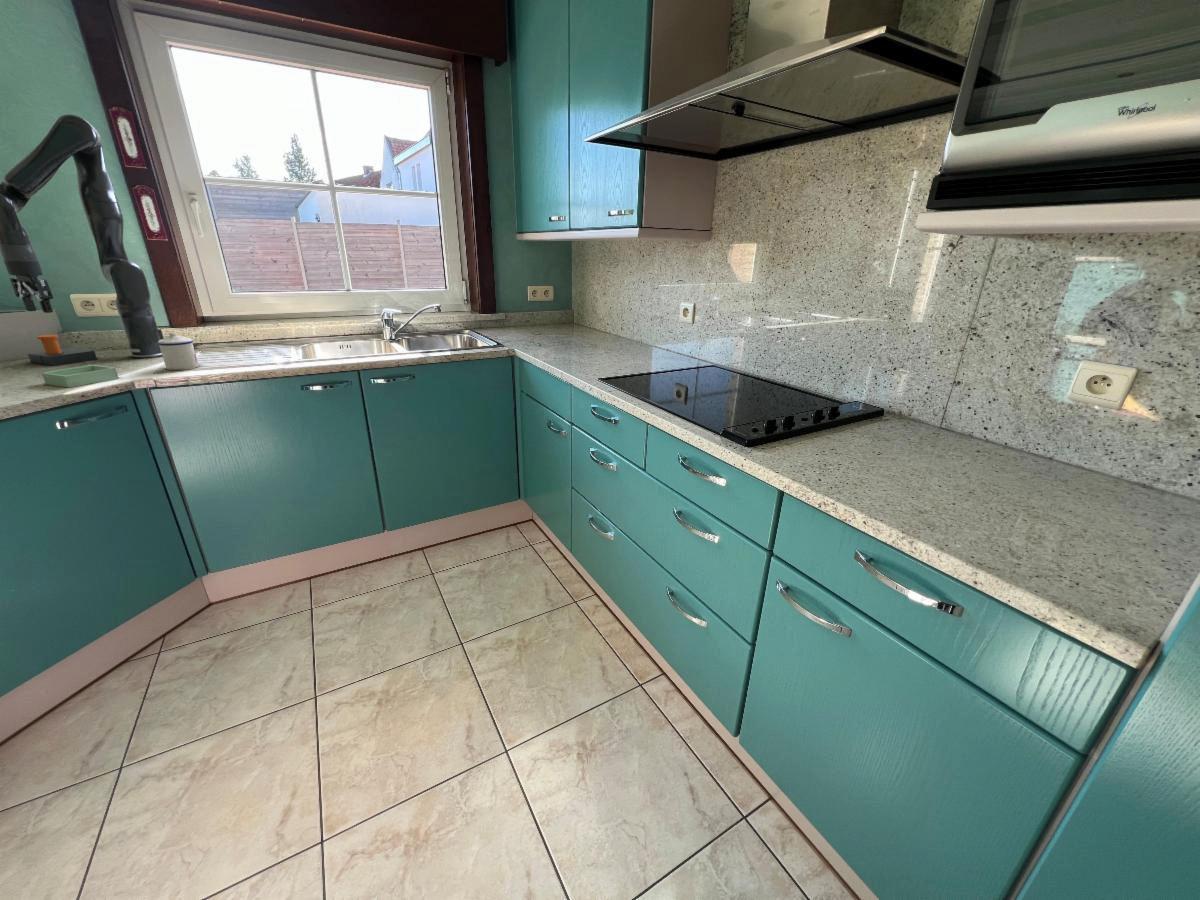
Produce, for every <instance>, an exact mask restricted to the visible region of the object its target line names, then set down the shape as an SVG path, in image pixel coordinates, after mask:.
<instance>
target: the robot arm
mask: <svg viewBox="0 0 1200 900" xmlns="http://www.w3.org/2000/svg"><path fill="white" fill-rule="evenodd" d="M34 147H35V148H33V149H32V150H31V151H30V152H29V153H28V154H26V155H25V156H24V157H23V158H21V159H20V160H19V161H18V162H17V163H15V165H14V166H12V167H11V168H10V169H9V170H8V171H7V172H6V173H5V174H4V175H3V177H2V178H3V180H2V181H1V182H0V255H1V258H2V261H3V263H4V266H5V269H6V271H7V274H8V275H9V276H15V277H10V278H9V281H10V284H11V287H12V290H13V292H14V295H15V297H16V298H19V299H20V300H22V302H23V306H24V308H25V310H26V311H27V312H36V311H37V307H36V305H35V302H34V300H33V296H35V297H36V299H37V300H38V302H39V305H40V307H41V310H42V312H43V313H45V314H50V313H51V314H52V313H53V312H54V310H53V307H52V304H51V300H52V299H54V296H53V293H52V291H51V288H50V285H49V282H48V280H47V279H40V278H39V276H43V274H44V272H43V269H42V267H41V263H40V262H39V258H38V256H37V253H36V251H35V249H34V247H33V245H32V241H31V239H30V237H29V233H28V232H27V230H26V228H25V227H24V226H23V225H22V224H21V222H20V219H19V217H18V215H17V214H18V213H19V212H21V211H22V209H24V208H25V207H26V205H27V204H28V203H29V202H30V200H31V199H32V197H33V196H34V195H36V194H37V193H38V192H39V191H41V190H42V188H44V187H45V186H46V185H48V183H49V182H51V180H52V179H53V178H54V177H55V175H57V172H58V171H59V169H60V168H61V167H62V166H63V165H64V163H65V162H66V161H68V160H69V159H70V158H71V157H72V159H73V162H74V165H75V168H76V169H75V170H76V180H77V190H78V196H79V200H80V203H81V206H82V209H83V212H84V215H85V218H86V220H87V223H88V227H89V229H90V232H91V236H92V237H93V240H94V243H95V245H96V246H95V247H96V250H97V256H98V262H99V268H100V272H101V275H102V276H103V278H104V279H105V280H106V282H108V283H109V284H110V285H112V286H113V288H114V290H115V295H116V297H115V300H114V304H115V307H116V310H117V313H118V316H119V319H120V322H121V325H122V328H123V332H124V334H125V338H126V340H127V343H128V346H129V350H130V353H131V357H132V358H136V359H144V358H146V359H147V358H157V357H163V356H162V353H161V349H160V346H159V344H158V341H159V340H162V339H164V338H165V337H164V334H163V332H162V328H160V327H158V325H157V324H158V323H157V321H156V317H155V315H154V311H153V308H152V305H151V293H150V288H149V285H148V281H147V277H146V275H145V273H144V271H143V269H142V268H141V266H139V265H138V264H137V263H135V262H133V261H131V260H129V258H128V255H127V252H126V249H125V245H124V231H125V229H124V228H125V226H124V215H123V212H122V207H121V205H120V202H119V200H118V199H119V198H118V196H117V193H116V190H115V188H114V185H113V182H112V181H111V178H110V176H109V173H108V170H107V166H106V161H105V155H104V152H103V143H102V137H101V134H100V133H99V131H98V130H97V129H96V128H95V126H93V125H92V124H91V123H90V122H89V121H88V120H86V119H84V118H83V117H81V116H79V115H76V114H70V113H68V114H62V115H60V116H58V118H57V119H56V120H55V122H54V123H53V124H52V126H51V127H50V129H49V130H48V132H47V134H46V135H45V136H44V138H42V140H41V141H40V142H39V143H38V144H37V145H36V146H34ZM195 343H196V344H194V343H193V344H194V345H193V346H194V347H197V346H198V345H199V342H195Z"/></svg>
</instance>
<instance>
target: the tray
mask: <svg viewBox="0 0 1200 900" xmlns="http://www.w3.org/2000/svg"><path fill="white" fill-rule="evenodd" d="M41 374H42V378H43V380H44V383H45V385H49V386H50V385H51V386H57V387H62V388H74V387H79V386H84V385H91V384H95V383H102V382H107V381H113V380H118V379H119V375H118V372H117V370H116V368H115V367H111V366H106V365H97V364H90V365H83V366H77V367H69V368H63V369H58V370H52V371H51V370H50V371H45V372H41Z"/></svg>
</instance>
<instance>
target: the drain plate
mask: <svg viewBox="0 0 1200 900" xmlns="http://www.w3.org/2000/svg"><path fill="white" fill-rule="evenodd" d="M60 350H61V352H62V353H59V354H46V351H45V350H44V351H35V352H30V353H27V356H28V358H29V361H30V363H33V364H39V365H47V366H60V365H67V364H73V363H74V364H75V363H80V362H88V361H93V360H98V357H97V355H96V351H95V350H91V349H83V348H75V347H68V348H60Z"/></svg>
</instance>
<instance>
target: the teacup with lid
mask: <svg viewBox="0 0 1200 900" xmlns="http://www.w3.org/2000/svg"><path fill="white" fill-rule="evenodd" d="M168 334H169V335H166V337H164V339H162V340H159V341H158V344H159V346H160V349H161V353H162V356H161V357H162V359H163V361H164V362H163V363H164V365H165V368H166V369H167V370H169V371H181V370H190V369H195V368H198V367H199V365H200V364H199V361H198V358H197V354H196V350H195V348H194V347H195V346H193V344H194V340H193V339H192V338H191V337H190V338H189V337H185V336H183V335H179V334H178V333H177V332H174V331H172V332H171V331H170V332H169V333H168Z"/></svg>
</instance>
